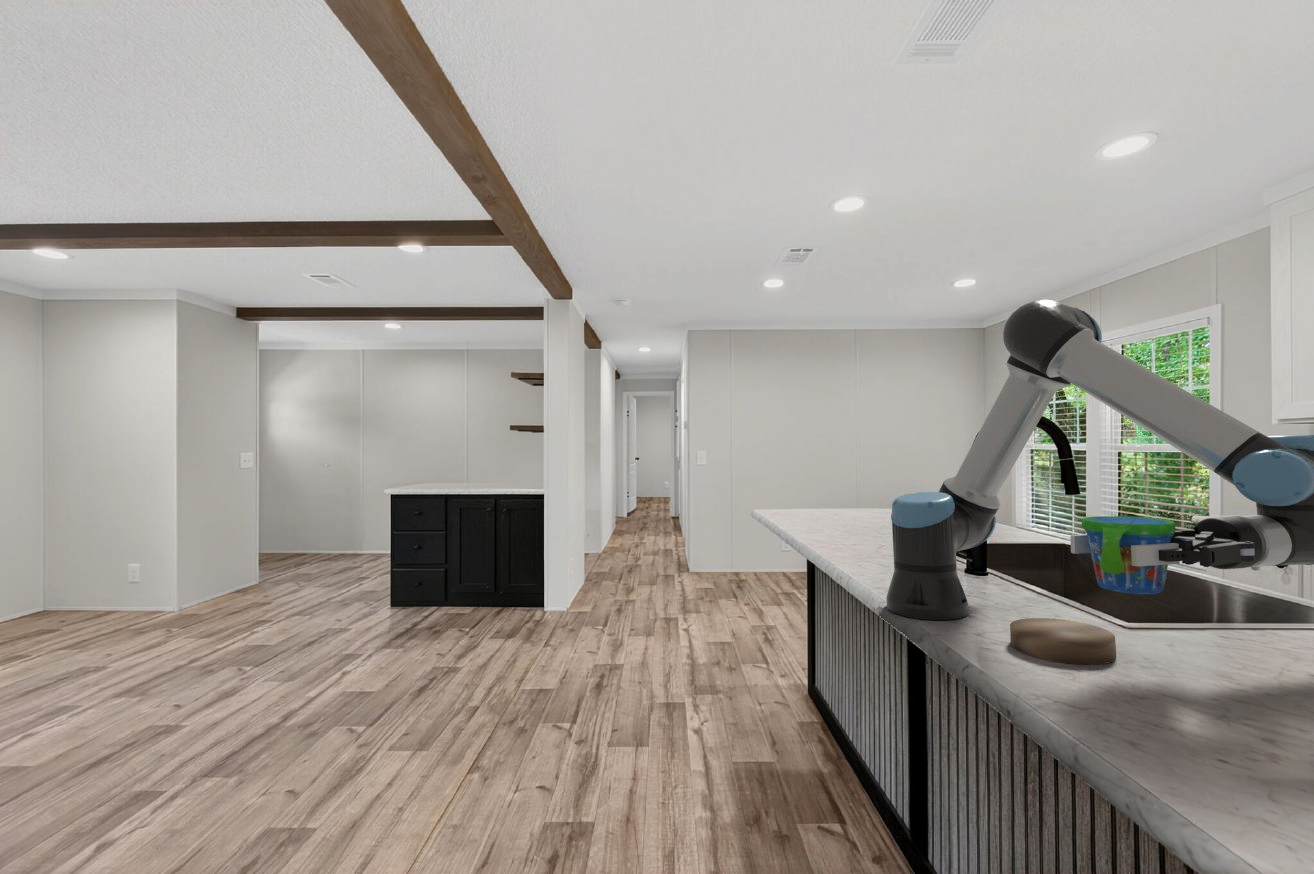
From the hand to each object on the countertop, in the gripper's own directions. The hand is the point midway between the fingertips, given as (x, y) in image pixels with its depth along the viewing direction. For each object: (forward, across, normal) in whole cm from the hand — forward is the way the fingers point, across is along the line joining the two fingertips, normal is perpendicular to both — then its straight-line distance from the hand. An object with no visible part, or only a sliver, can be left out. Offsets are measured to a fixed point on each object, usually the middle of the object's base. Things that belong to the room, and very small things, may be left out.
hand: (1101, 549), depth 85 cm
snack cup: (-4, 0, -6) cm, 8 cm away
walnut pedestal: (-2, +11, -18) cm, 21 cm away
